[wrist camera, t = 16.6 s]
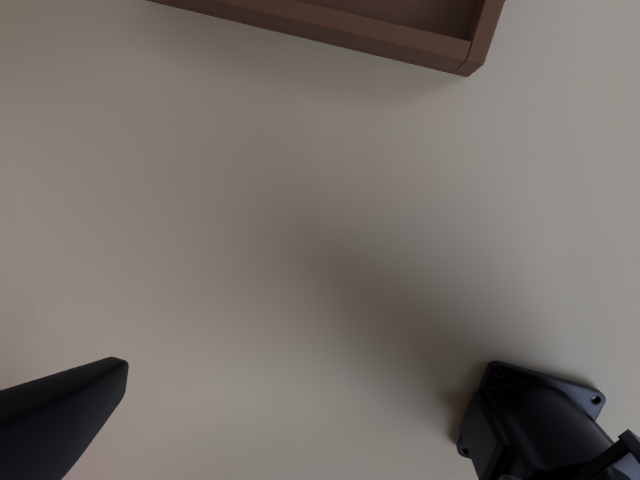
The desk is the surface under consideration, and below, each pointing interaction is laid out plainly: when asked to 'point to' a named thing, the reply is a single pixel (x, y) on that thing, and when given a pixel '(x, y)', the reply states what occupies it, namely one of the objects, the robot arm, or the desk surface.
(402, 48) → the tray
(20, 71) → the desk surface
